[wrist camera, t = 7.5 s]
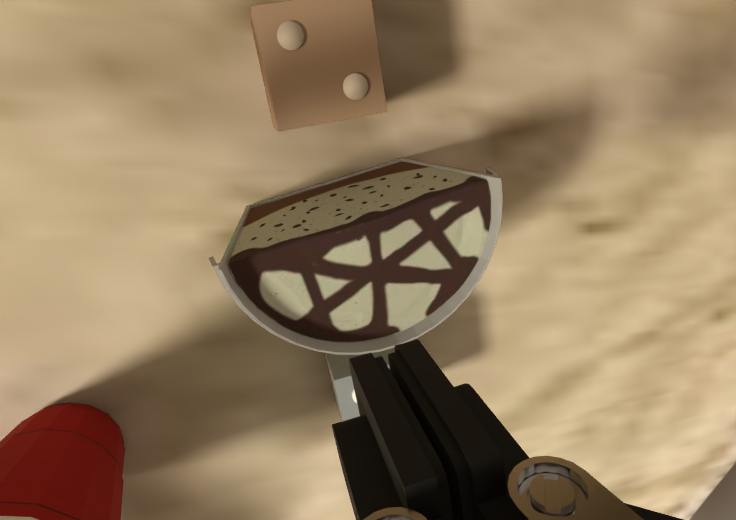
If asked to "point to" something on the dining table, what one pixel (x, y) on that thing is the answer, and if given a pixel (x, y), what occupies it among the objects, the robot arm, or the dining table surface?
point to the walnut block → (318, 61)
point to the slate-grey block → (347, 382)
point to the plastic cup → (62, 466)
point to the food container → (364, 255)
